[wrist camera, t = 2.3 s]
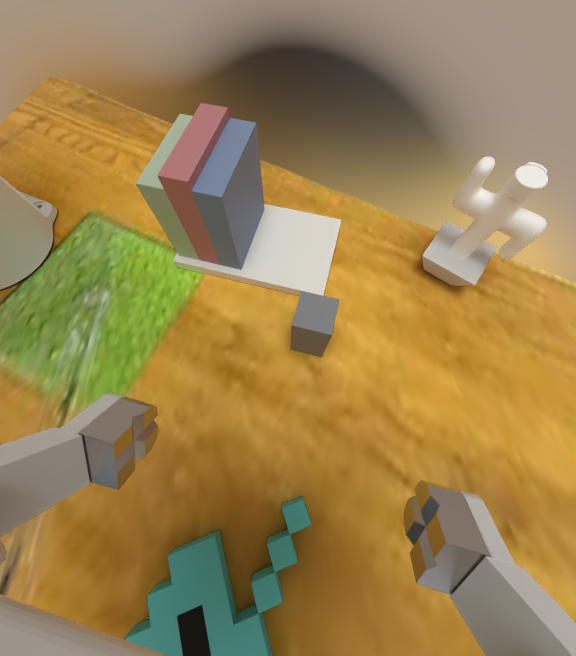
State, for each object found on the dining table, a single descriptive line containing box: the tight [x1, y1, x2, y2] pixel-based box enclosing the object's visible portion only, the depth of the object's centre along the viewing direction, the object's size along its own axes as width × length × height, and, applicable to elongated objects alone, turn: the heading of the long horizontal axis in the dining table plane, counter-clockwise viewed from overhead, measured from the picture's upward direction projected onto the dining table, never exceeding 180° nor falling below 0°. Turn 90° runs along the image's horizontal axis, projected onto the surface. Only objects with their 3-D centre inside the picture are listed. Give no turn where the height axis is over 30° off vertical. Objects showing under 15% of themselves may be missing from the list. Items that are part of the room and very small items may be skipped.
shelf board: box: [136, 103, 341, 296], centre depth 33 cm, size 21×13×14 cm, turn 75°
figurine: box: [422, 156, 548, 286], centre depth 31 cm, size 7×9×15 cm
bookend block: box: [291, 291, 339, 357], centre depth 31 cm, size 4×4×8 cm
